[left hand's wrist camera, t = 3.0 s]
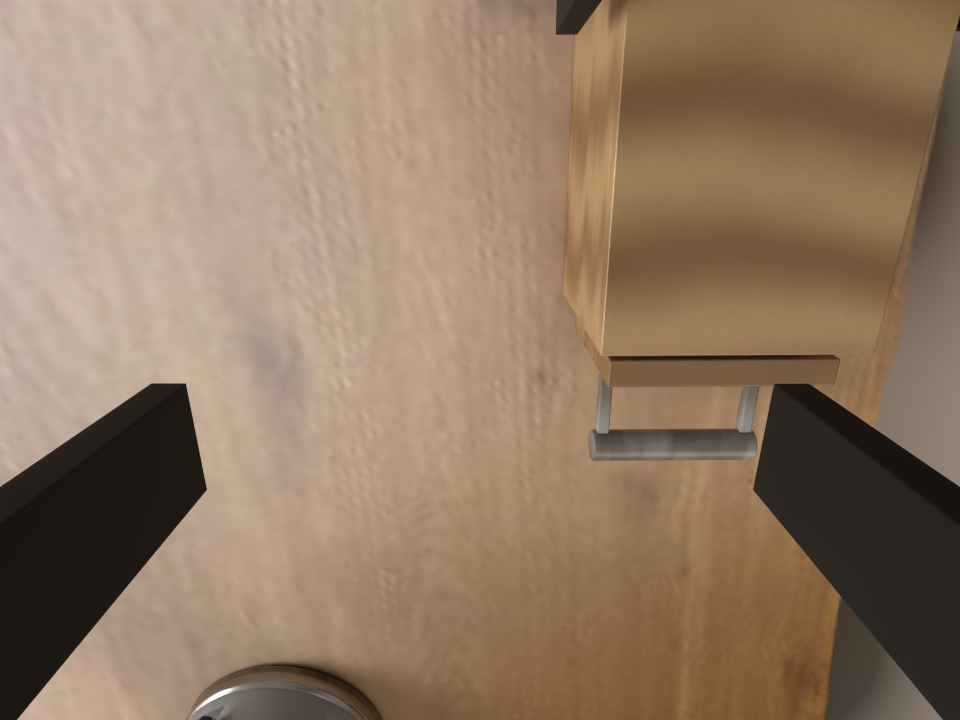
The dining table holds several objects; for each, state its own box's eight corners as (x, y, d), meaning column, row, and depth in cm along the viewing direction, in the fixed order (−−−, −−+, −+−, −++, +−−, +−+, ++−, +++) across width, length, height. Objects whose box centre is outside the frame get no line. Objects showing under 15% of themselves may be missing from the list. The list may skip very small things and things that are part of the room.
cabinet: (751, 293, 31) (875, 354, 21) (562, 294, 31) (600, 356, 21) (813, -81, 25) (1024, -232, 15) (580, -79, 25) (643, -229, 15)
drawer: (727, 424, 33) (806, 509, 25) (569, 425, 33) (598, 510, 25) (799, -13, 25) (946, -91, 17) (593, -11, 25) (645, -89, 17)
